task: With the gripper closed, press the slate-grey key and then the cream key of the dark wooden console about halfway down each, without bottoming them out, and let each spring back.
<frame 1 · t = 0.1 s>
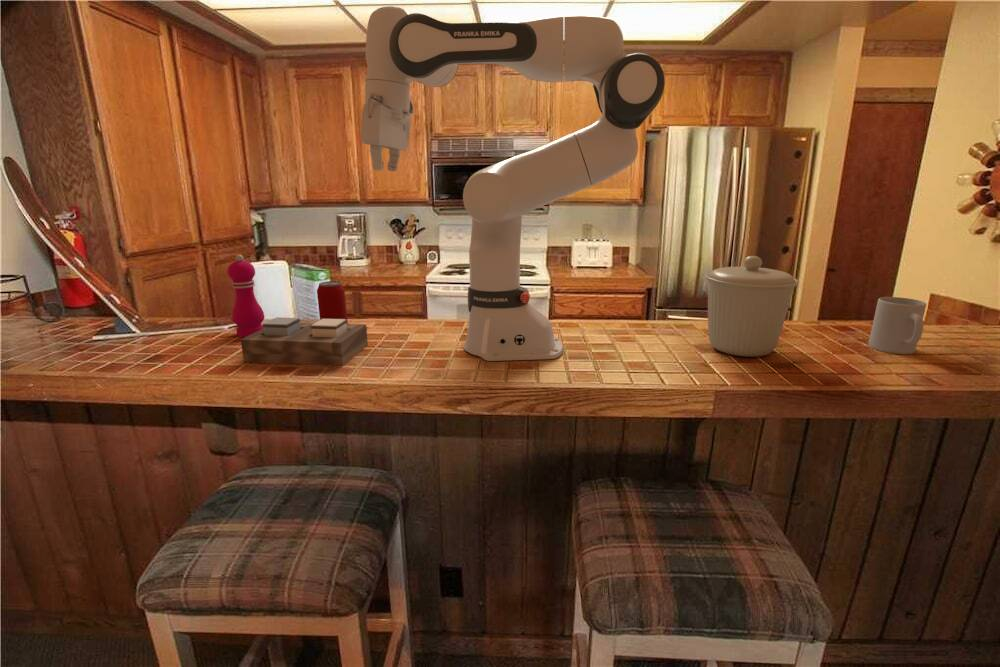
hand: (385, 170, 106), 39 cm above the countertop, tool pointing down, fingers open, 8 cm apart
mug: (895, 351, 112), on the countertop
pepper mill: (251, 334, 127), on the countertop
beverage can: (334, 328, 131), on the countertop
canister: (740, 350, 113), on the countertop
slate key: (282, 331, 111), point 5 cm above the countertop, slide at 0.0 cm
console: (308, 353, 112), on the countertop
cream key: (330, 333, 110), point 5 cm above the countertop, slide at 0.1 cm
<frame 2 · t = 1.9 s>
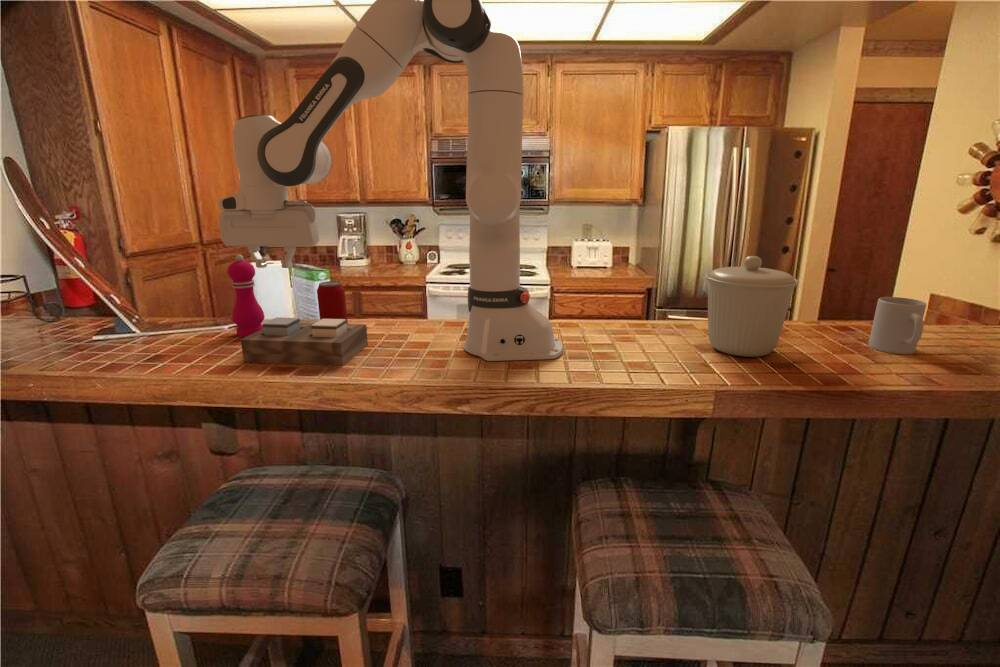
hand: (274, 267, 107), 19 cm above the countertop, tool pointing down, fingers open, 4 cm apart
nothing on the countertop moved.
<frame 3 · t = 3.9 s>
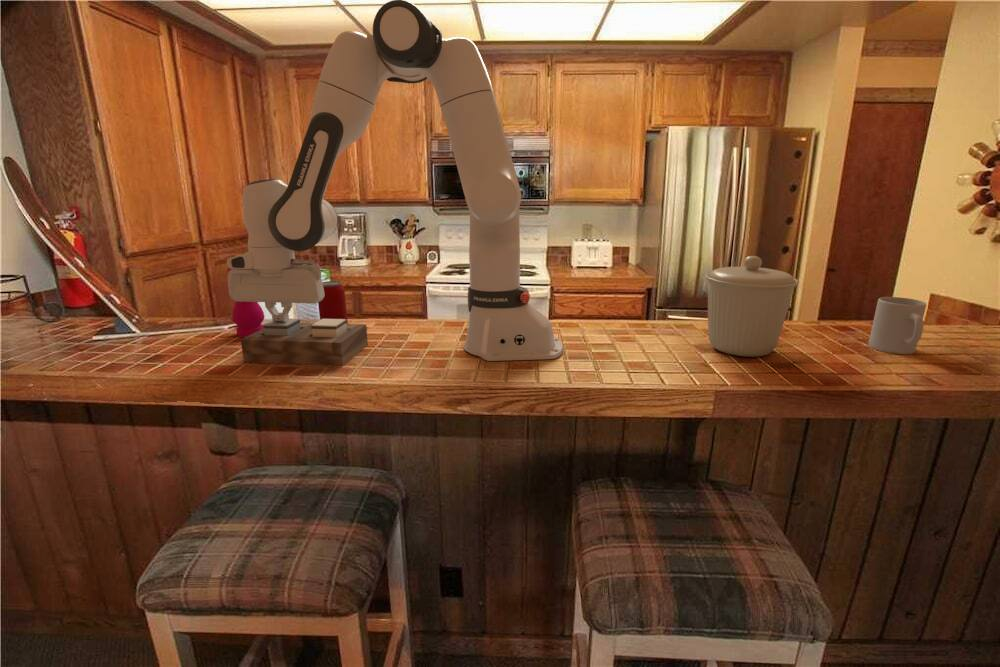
hand: (281, 321, 110), 7 cm above the countertop, tool pointing down, fingers closed, pressing on slate key
slate key: (283, 332, 111), point 5 cm above the countertop, slide at 0.3 cm, touching gripper
everything else where it was.
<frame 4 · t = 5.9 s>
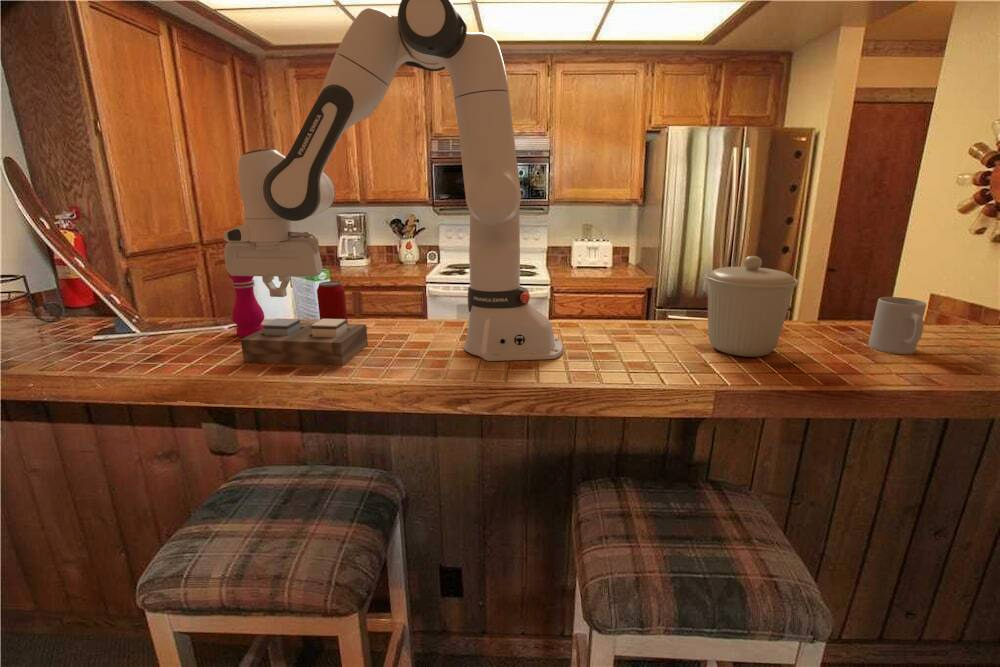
hand: (278, 296, 109), 13 cm above the countertop, tool pointing down, fingers closed
slate key: (283, 332, 111), point 5 cm above the countertop, slide at 0.3 cm
everything else where it was.
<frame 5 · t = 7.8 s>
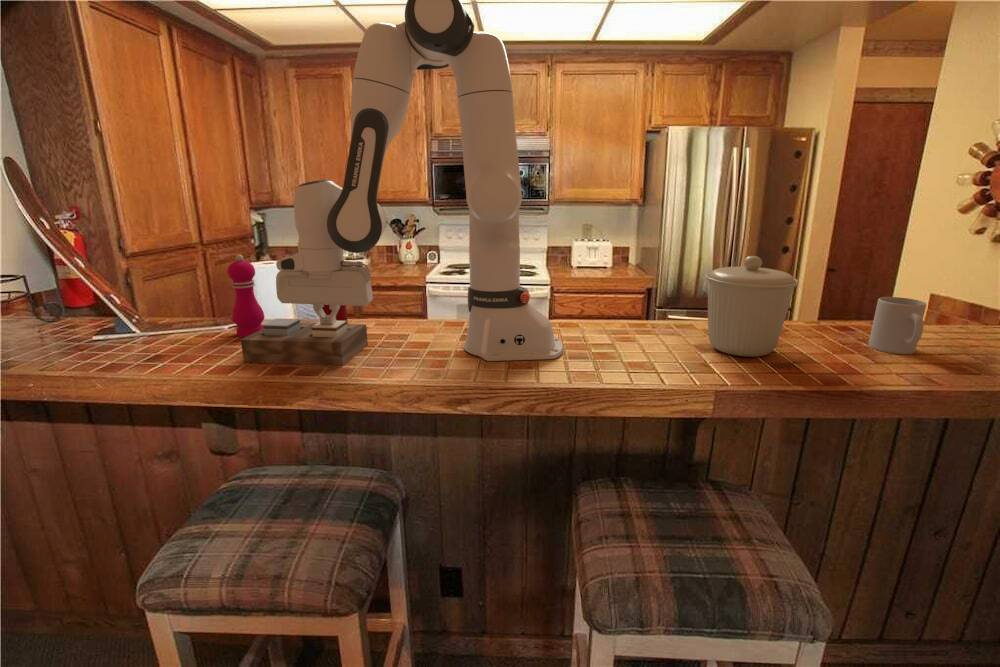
hand: (328, 323, 109), 7 cm above the countertop, tool pointing down, fingers closed, pressing on cream key
cream key: (330, 334, 110), point 4 cm above the countertop, slide at 0.4 cm, touching console, gripper
everything else where it was.
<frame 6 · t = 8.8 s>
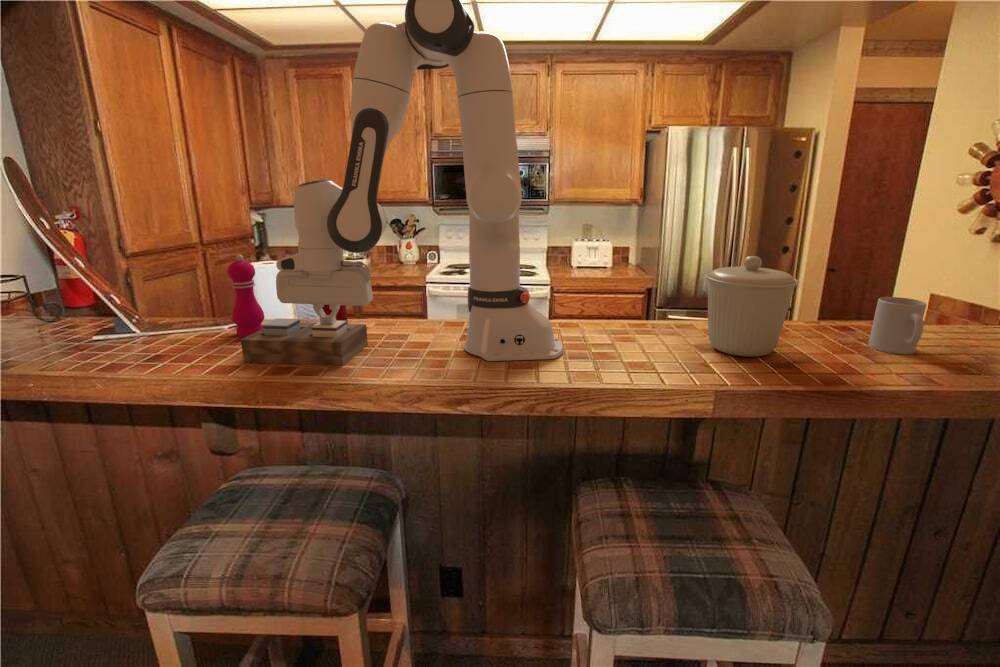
hand: (328, 323, 109), 7 cm above the countertop, tool pointing down, fingers closed, pressing on cream key
cream key: (330, 334, 110), point 4 cm above the countertop, slide at 0.4 cm, touching console, gripper
everything else where it was.
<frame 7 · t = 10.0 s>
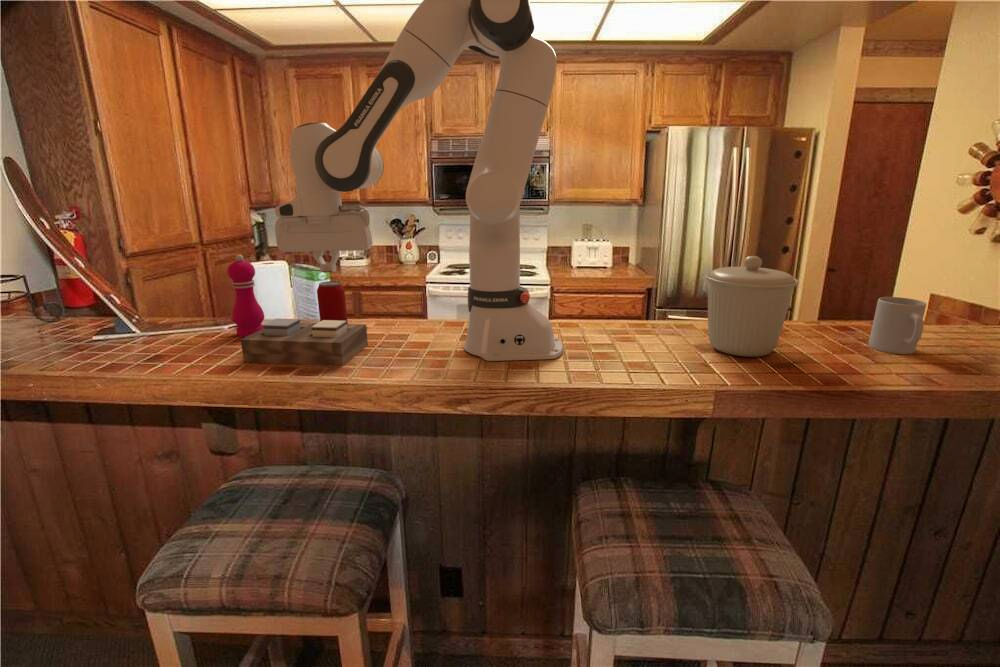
hand: (328, 271, 109), 18 cm above the countertop, tool pointing down, fingers closed
cream key: (330, 334, 110), point 4 cm above the countertop, slide at 0.4 cm, touching console
everything else where it was.
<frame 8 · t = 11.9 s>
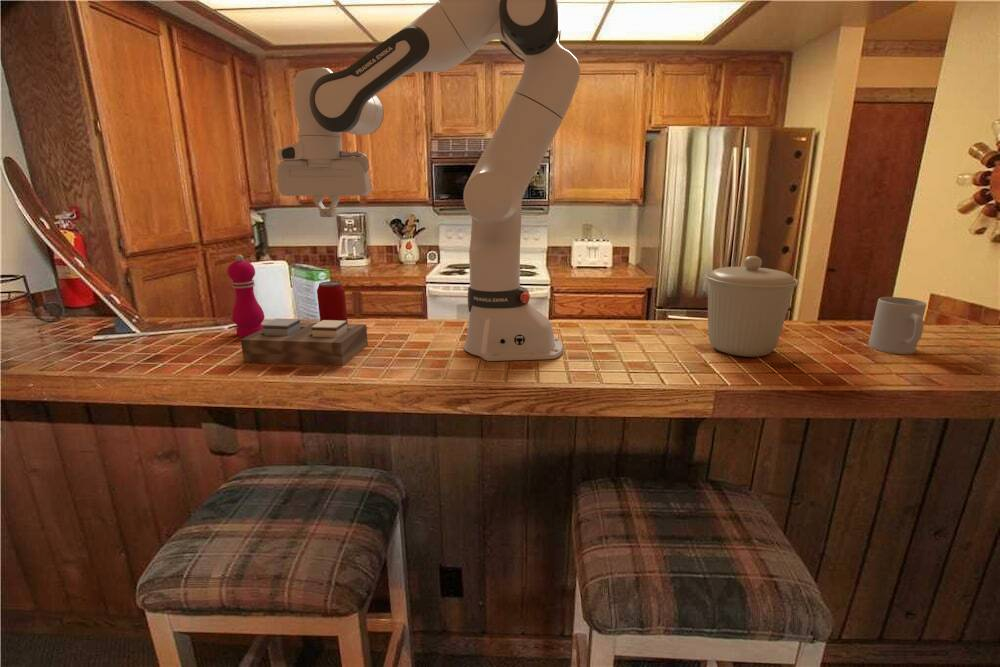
hand: (327, 216, 113), 29 cm above the countertop, tool pointing down, fingers closed
nothing on the countertop moved.
at the end: slate key slide at 0.3 cm; cream key slide at 0.4 cm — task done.
